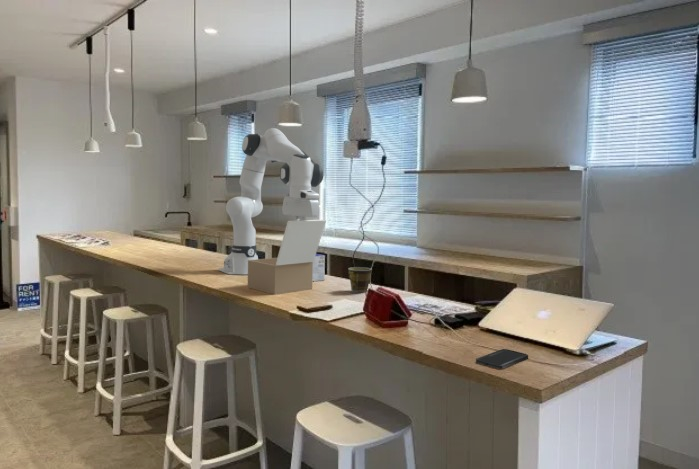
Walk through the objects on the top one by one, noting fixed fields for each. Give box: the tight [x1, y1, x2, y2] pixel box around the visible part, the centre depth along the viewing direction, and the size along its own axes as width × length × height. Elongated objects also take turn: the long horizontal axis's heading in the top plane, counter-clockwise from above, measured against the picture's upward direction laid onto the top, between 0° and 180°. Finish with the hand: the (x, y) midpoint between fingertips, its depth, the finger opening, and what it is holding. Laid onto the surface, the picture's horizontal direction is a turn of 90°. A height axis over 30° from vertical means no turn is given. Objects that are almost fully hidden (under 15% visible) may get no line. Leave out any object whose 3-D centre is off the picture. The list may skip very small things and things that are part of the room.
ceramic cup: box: [347, 266, 372, 294], centre depth 232 cm, size 13×10×10 cm
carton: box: [247, 257, 313, 295], centre depth 237 cm, size 20×20×12 cm
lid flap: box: [276, 219, 327, 265], centre depth 225 cm, size 20×20×1 cm
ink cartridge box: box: [312, 253, 326, 282], centre depth 259 cm, size 10×6×14 cm, turn 126°
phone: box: [475, 348, 529, 370], centre depth 144 cm, size 8×1×15 cm
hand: (299, 227), depth 225 cm, fingers closed
